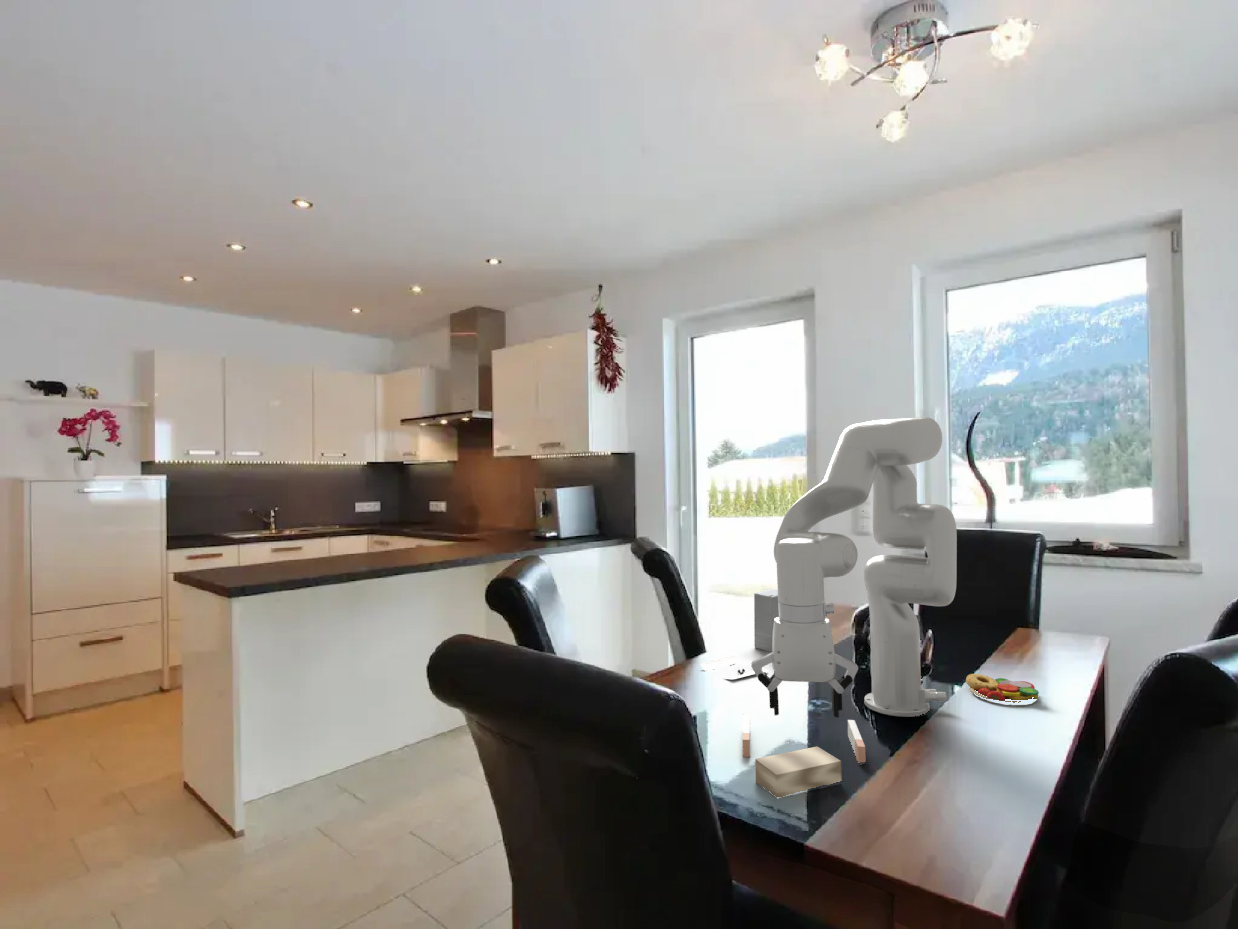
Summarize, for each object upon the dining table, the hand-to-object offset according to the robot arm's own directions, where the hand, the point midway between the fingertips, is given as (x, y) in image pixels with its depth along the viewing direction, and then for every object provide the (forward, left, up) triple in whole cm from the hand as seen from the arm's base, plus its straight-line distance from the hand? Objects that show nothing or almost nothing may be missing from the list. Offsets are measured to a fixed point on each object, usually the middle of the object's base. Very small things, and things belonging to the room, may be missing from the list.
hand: (805, 713), depth 111 cm
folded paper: (+13, -51, -10) cm, 54 cm away
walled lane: (0, -8, -9) cm, 12 cm away
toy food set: (-45, -41, -10) cm, 62 cm away
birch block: (+2, +6, -9) cm, 11 cm away
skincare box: (+3, -74, -9) cm, 75 cm away
